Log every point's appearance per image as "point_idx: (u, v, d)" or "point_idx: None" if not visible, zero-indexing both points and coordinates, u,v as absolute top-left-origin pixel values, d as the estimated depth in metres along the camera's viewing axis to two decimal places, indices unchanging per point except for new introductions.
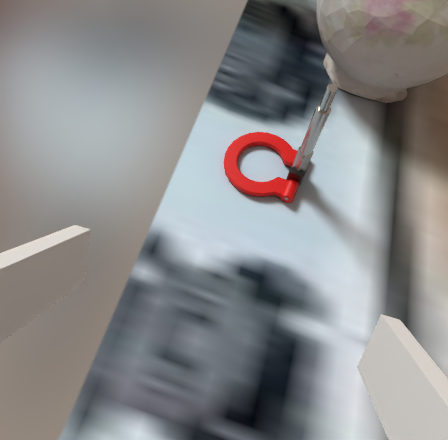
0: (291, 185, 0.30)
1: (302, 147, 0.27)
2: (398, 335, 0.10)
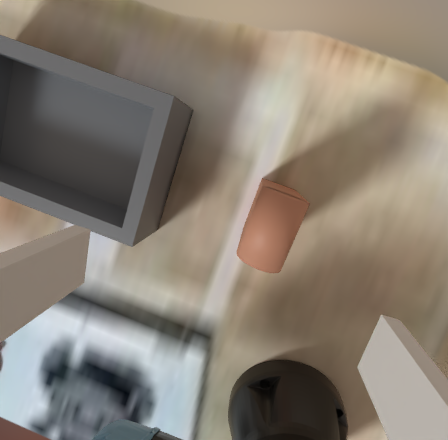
0: None
1: None
2: (398, 335, 0.10)
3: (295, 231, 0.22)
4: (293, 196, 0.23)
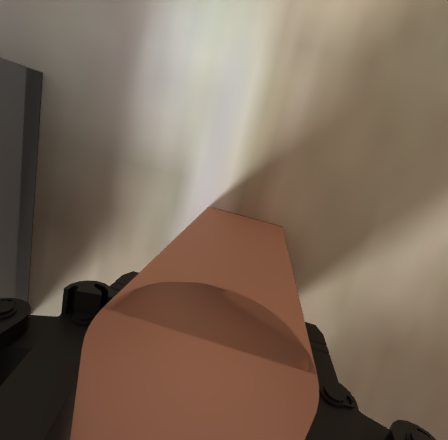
0: None
1: None
2: None
3: None
4: (250, 324, 0.06)
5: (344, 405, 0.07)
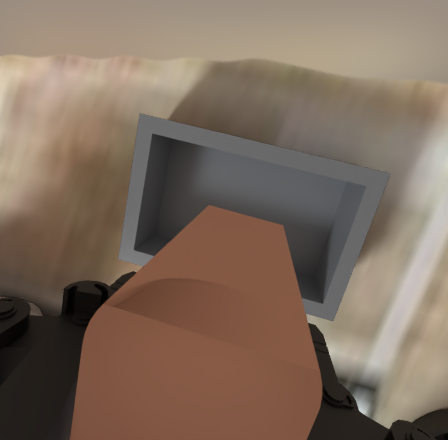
0: None
1: None
2: None
3: None
4: (252, 321, 0.06)
5: (344, 405, 0.07)
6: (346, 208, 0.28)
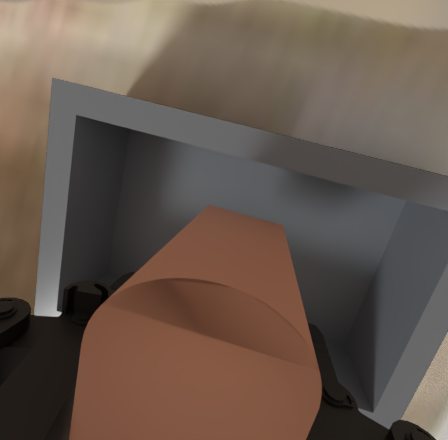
0: None
1: None
2: None
3: None
4: (251, 321, 0.06)
5: (344, 405, 0.07)
6: (412, 247, 0.17)
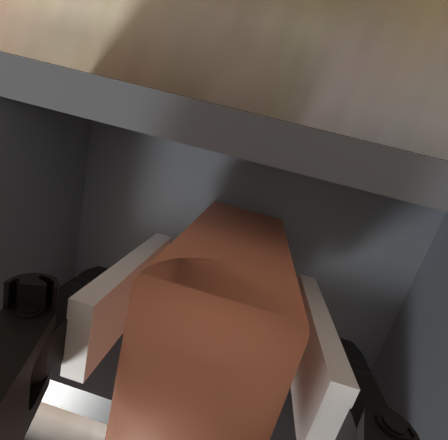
0: None
1: None
2: (305, 287, 0.12)
3: None
4: (255, 289, 0.07)
5: (405, 438, 0.06)
6: None
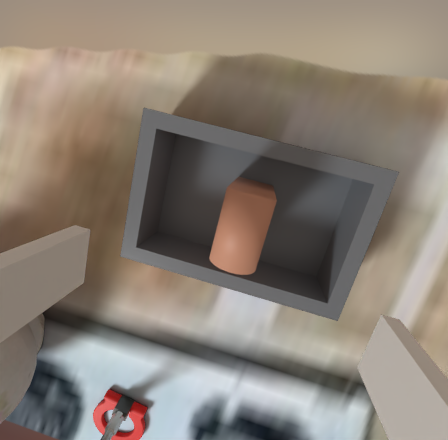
0: (134, 412, 0.41)
1: None
2: (398, 335, 0.10)
3: (264, 230, 0.21)
4: (261, 194, 0.22)
5: None
6: (352, 206, 0.28)
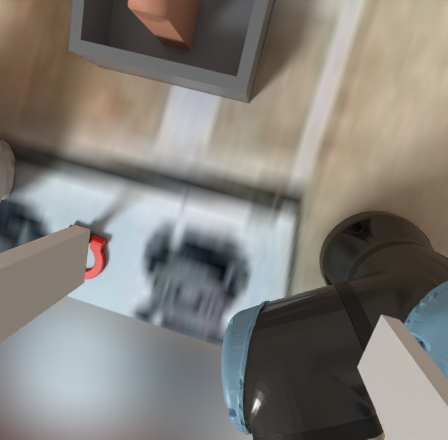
0: (94, 241, 0.47)
1: None
2: (398, 335, 0.10)
3: None
4: None
5: None
6: None
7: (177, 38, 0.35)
